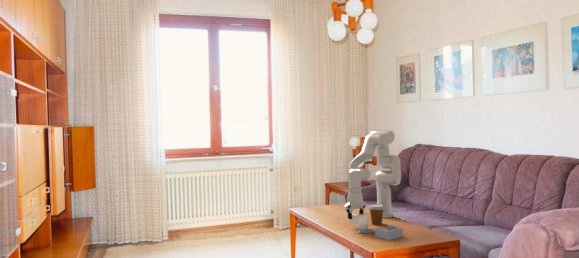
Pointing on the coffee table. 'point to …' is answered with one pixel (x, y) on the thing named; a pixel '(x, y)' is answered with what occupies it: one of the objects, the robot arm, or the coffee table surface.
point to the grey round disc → (366, 231)
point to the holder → (389, 232)
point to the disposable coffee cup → (376, 213)
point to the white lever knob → (360, 221)
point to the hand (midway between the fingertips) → (355, 217)
